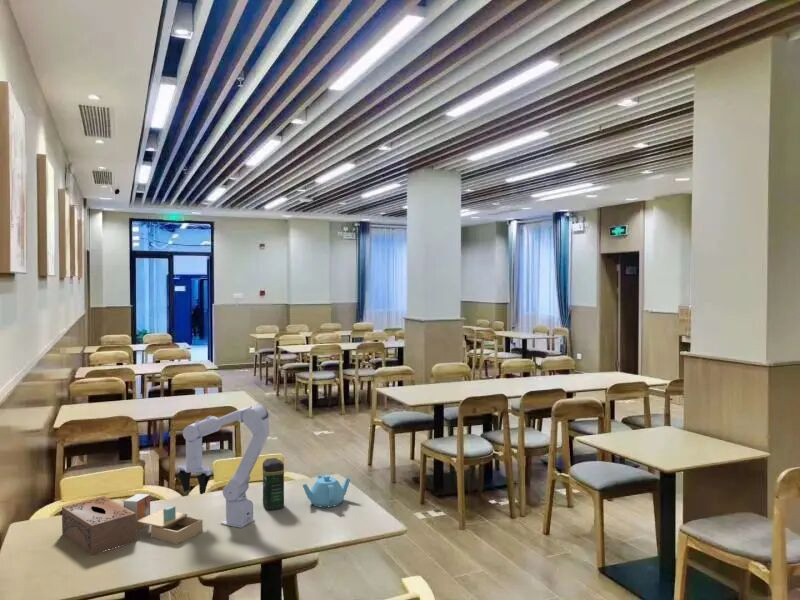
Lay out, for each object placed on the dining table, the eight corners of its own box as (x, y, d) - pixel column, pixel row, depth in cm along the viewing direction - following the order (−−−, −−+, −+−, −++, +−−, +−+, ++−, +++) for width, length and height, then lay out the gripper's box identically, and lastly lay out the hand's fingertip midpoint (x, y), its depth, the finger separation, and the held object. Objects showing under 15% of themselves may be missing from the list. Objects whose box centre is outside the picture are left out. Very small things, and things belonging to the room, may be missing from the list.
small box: (137, 531, 213) (136, 501, 213) (123, 529, 214) (122, 500, 214) (150, 522, 221) (150, 494, 221) (137, 521, 222) (137, 493, 222)
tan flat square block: (187, 515, 216) (187, 503, 216) (161, 527, 205) (161, 514, 205) (162, 511, 220) (162, 498, 220) (136, 522, 209) (135, 509, 209)
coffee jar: (286, 508, 234) (286, 461, 234) (266, 511, 231) (265, 464, 230) (280, 500, 243) (280, 455, 242) (261, 503, 239) (260, 457, 239)
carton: (202, 530, 213) (202, 519, 213) (177, 543, 202) (177, 532, 202) (176, 525, 218) (176, 514, 218) (151, 538, 207) (150, 526, 207)
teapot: (300, 506, 237) (299, 479, 237) (318, 494, 251) (318, 468, 251) (334, 511, 231) (333, 483, 231) (351, 498, 245) (351, 472, 245)
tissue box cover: (62, 535, 210) (61, 507, 210) (104, 523, 221) (104, 496, 221) (92, 556, 193) (91, 525, 193) (136, 542, 204) (136, 513, 204)
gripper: (171, 456, 222) (171, 493, 222) (202, 460, 216) (202, 498, 216) (184, 451, 228) (185, 487, 229) (215, 455, 223) (215, 491, 223)
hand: (194, 492), depth 223 cm, fingers open, 7 cm apart
